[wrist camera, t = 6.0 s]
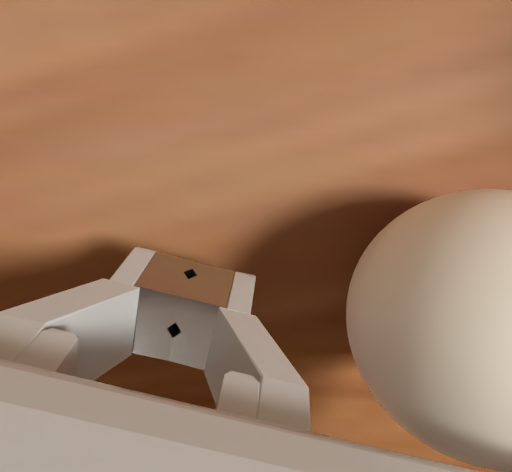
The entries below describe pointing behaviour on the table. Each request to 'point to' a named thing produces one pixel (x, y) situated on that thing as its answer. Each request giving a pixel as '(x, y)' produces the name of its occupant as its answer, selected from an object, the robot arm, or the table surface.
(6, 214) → the table surface
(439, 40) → the table surface
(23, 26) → the table surface
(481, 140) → the table surface
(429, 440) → the cue ball
